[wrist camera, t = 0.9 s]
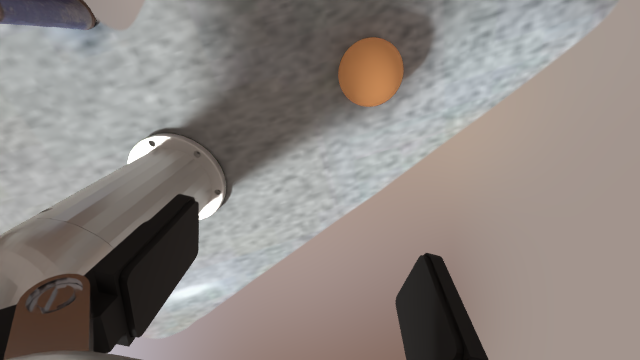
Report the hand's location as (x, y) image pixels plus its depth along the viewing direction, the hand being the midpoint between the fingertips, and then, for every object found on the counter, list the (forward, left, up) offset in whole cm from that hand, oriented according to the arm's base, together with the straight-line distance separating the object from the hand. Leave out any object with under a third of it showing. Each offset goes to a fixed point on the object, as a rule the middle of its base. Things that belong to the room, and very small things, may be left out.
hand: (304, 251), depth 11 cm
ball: (+7, +1, -18) cm, 20 cm away
